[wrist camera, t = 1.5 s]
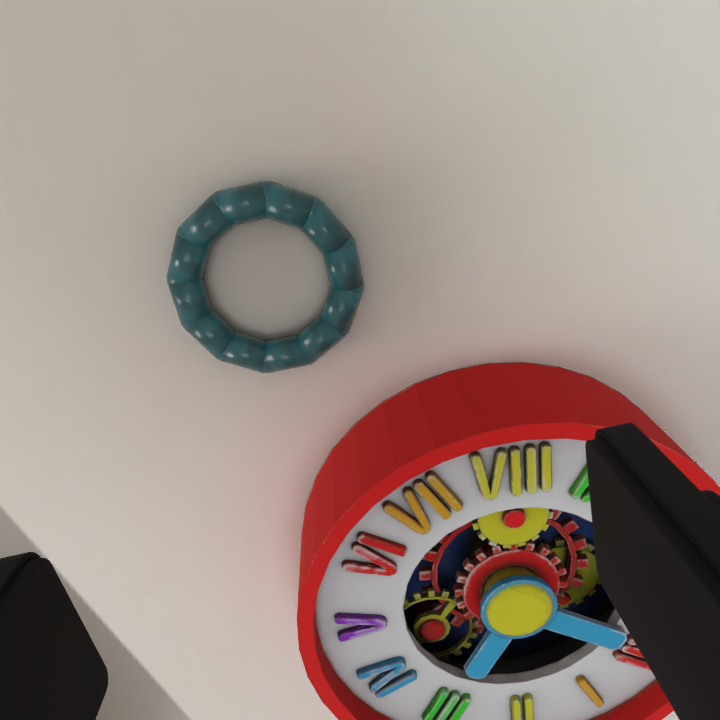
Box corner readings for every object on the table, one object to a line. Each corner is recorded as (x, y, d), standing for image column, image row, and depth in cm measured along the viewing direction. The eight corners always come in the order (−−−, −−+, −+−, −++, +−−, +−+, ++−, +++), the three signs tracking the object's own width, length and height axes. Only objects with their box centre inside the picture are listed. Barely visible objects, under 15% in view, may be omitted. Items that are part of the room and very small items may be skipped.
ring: (205, 378, 28) (199, 391, 27) (148, 204, 25) (138, 209, 23) (375, 344, 28) (377, 355, 26) (339, 164, 25) (340, 166, 23)
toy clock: (420, 345, 21) (848, 518, 25) (402, 297, 27) (757, 446, 31) (231, 717, 28) (593, 809, 32) (247, 619, 33) (555, 708, 37)
